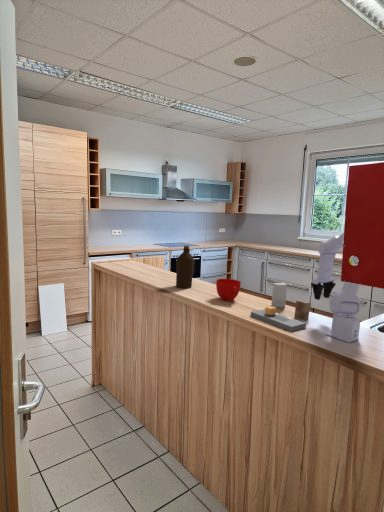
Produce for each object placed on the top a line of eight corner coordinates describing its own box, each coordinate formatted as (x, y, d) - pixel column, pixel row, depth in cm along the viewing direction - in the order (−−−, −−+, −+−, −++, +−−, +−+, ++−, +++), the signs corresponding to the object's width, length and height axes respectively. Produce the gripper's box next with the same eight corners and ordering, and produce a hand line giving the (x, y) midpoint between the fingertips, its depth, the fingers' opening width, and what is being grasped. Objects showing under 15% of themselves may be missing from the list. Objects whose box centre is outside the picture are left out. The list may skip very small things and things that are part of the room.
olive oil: (190, 289, 194) (193, 247, 191) (173, 287, 196) (175, 245, 193) (193, 286, 204) (196, 245, 201) (177, 284, 206) (179, 244, 203)
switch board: (305, 327, 138) (306, 323, 138) (291, 331, 132) (291, 326, 132) (265, 313, 155) (265, 309, 155) (250, 316, 149) (250, 311, 149)
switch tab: (275, 314, 147) (276, 307, 146) (270, 315, 144) (270, 308, 144) (270, 312, 149) (271, 306, 149) (264, 313, 147) (265, 307, 146)
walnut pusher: (308, 319, 150) (310, 302, 149) (303, 320, 148) (305, 303, 147) (298, 316, 154) (300, 299, 153) (294, 317, 152) (296, 300, 151)
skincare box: (282, 305, 172) (284, 283, 170) (285, 308, 167) (287, 284, 166) (270, 305, 171) (273, 282, 169) (273, 307, 166) (276, 284, 165)
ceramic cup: (222, 304, 165) (224, 285, 164) (211, 296, 181) (213, 278, 180) (246, 304, 169) (248, 285, 167) (233, 296, 185) (235, 278, 184)
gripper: (325, 266, 154) (322, 294, 156) (308, 267, 145) (304, 297, 147) (340, 269, 149) (336, 298, 150) (322, 270, 140) (319, 301, 142)
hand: (321, 298), depth 148 cm, fingers open, 7 cm apart
